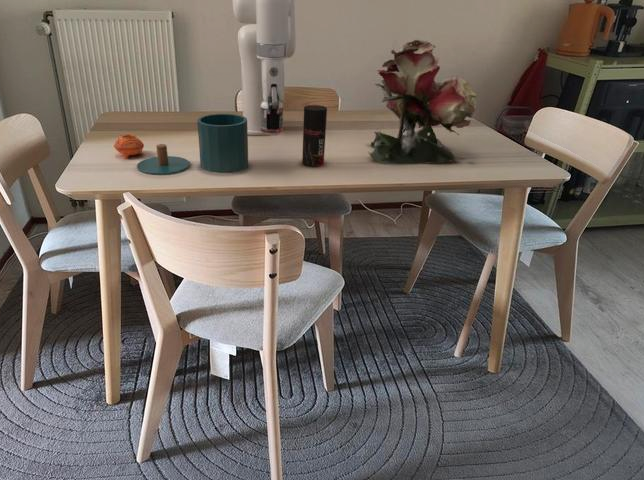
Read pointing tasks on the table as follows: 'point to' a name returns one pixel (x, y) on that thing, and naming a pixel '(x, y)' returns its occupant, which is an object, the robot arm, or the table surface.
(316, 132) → the deodorant
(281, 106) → the pill bottle
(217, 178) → the table surface
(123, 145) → the pot
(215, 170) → the tin
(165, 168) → the lid
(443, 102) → the rose bouquet
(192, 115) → the table surface
